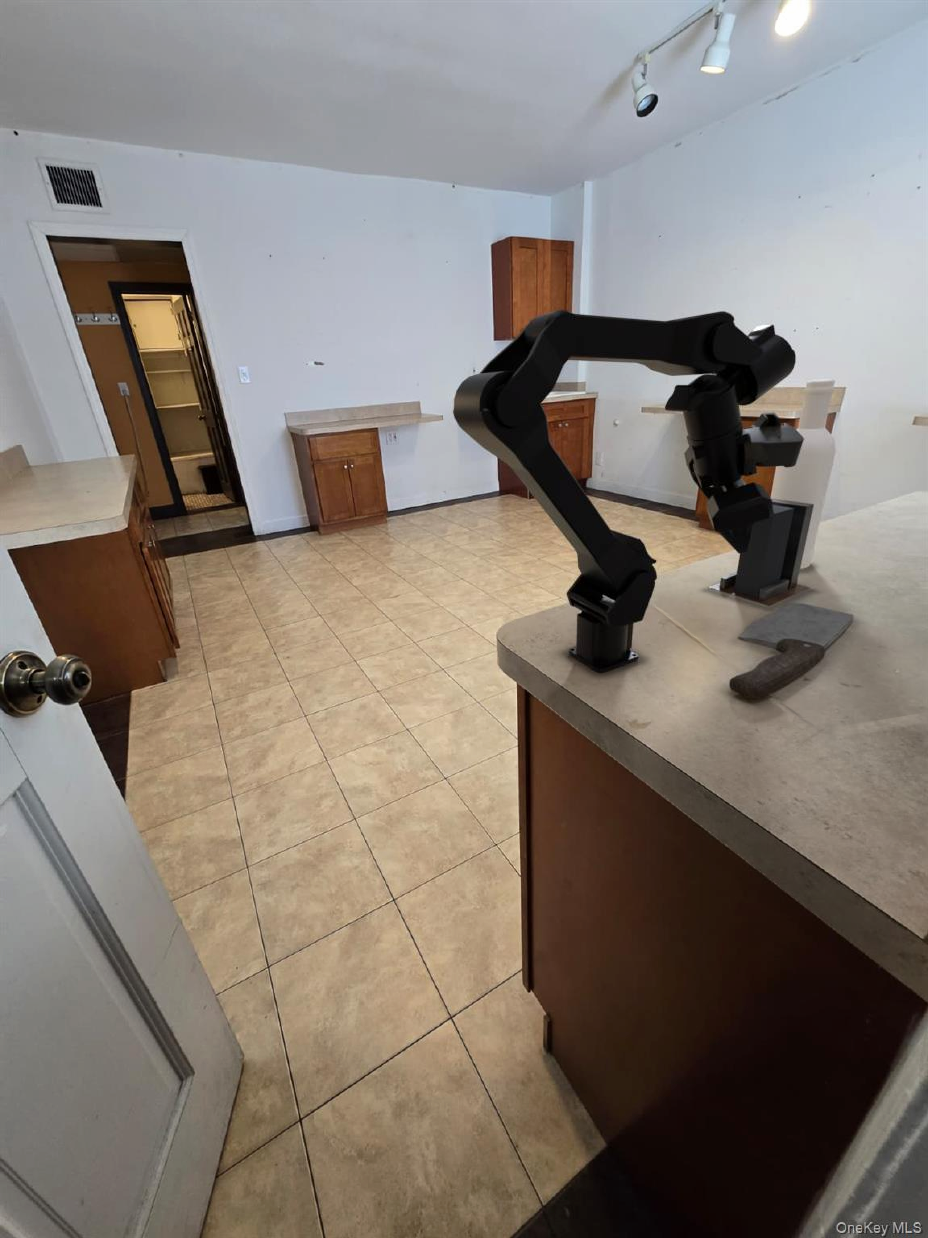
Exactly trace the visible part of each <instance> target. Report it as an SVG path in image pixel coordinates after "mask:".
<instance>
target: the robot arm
mask: <svg viewBox="0 0 928 1238" xmlns="http://www.w3.org/2000/svg"><path fill="white" fill-rule="evenodd" d="M796 357H797V356H796V351H795V349H793V348H792V346H791V344H790V343H789V341H788V340H786V339H785V338H784V337H783V336H780V335H778V334H776V329H775V325H774V324H767V325H759V326H757V327H756V328H754V329H753V330H752V331H750V332H749V333H748V335H747V334H746V333H745V332H744V331H742V330H741V329H740V328H739V327H738V326H736V324H735V316H734V315H733V314H732V313H730V312H727V311H724V310H719V311H714V312H710V313H703V314H698V315H693V316H687V317H682V318H675V319H670V320H655V319H645V318H644V319H642V318H630V317H620V316H619V317H617V316H607V315H606V316H605V315H593V314H583V313H582V314H581V313H573V312H571V311H569V310H567V309H559V310H555V311H550V312H547V313H543V314H539V315H536V316H535V317H533V318H531V320H530V321H529V322H528V323H527V324H526V325H525V327H524V328H523V329H522V331H521V332H520V333H519V334H518V335H517V337H516V338H514V339H513V340H512V341H511V342H510V343H509V344H508V345H507V346H505V347H504V348H503V349H502V350H501V351H500V352H499V353H498V354H497V355H495V356H494V357H493V358H492V359H491V360H490V361H488V363H486V365H485V366H484V367H483V368H482V369H481V371H480V372H479V373H475V374H473V375H469V376H468V377H466V378H465V379H464V380H463V381H461V383H460V384H459V386H458V387H457V389H456V392H455V395H454V398H453V410H452V414H453V417H454V420H455V422H456V423H457V425H458V427H459V428H460V429H461V430H462V431H463V432H464V433H466V434H467V435H468V436H469V437H470V438H471V439H473V441H475V442H476V443H477V444H478V445H479V446H480V447H481V448H483V449H484V450H485V451H487V452H488V453H490V454H492V455H493V456H494V457H496V458H497V459H499V460H500V461H502V462H503V463H505V464H506V465H508V467H510V468H511V469H512V471H513V472H514V473H515V475H516V476H517V478H519V480H520V481H521V483H523V485H524V486H525V488H526V489H527V490H528V491H529V493H530V494H531V496H532V497H533V498H534V499H535V500H536V502H537V503H538V504H539V505H540V507H541V508H542V510H543V511H544V512H545V513H546V515H547V516H548V517H549V518H550V520H551V521H552V522H553V523H554V525H555V526H556V528H557V529H558V530H559V531H560V532H561V534H562V535H563V536H564V537H565V539H566V540H567V542H568V543H569V544H570V545H571V547H572V548H573V549H574V551H575V552H576V555H577V557H576V558H577V569H578V570H579V572H580V573H579V575H578V577H577V578H576V580H575V581H574V582H573V583H572V584H571V586H569V589H568V590H567V591H566V598H567V600H568V603H569V605H570V606H571V607H574V608H576V609H577V610H579V611H581V612H579V613H576V638H575V639H576V641H575V642H576V643H575V646H573V647H570V648H568V654H569V655H571V656H572V657H574V658H576V659H577V660H579V661H580V662H582V663H583V664H585V665H587V666H588V667H589V668H591V669H592V670H594V671H596V672H597V673H604V672H607V671H609V670H612V669H615V668H618V667H620V666H624V665H625V664H629V663H632V662H634V661H637V660H639V653H636V652H634V651H633V650H631V649H632V647H633V633H634V624H635V623H639V622H642V621H643V620H644V617H645V615H646V612H647V609H648V607H649V603H650V602H651V598H652V596H653V593H654V590H655V587H656V580H658V573H657V570H656V568H655V566H654V564H656V563H657V561H658V560H657V559H655V558H653V557H651V555H650V554H649V552H648V550H647V547H646V545H645V543H644V542H643V541H642V539H641V538H638V537H635V536H632V535H629V534H626V533H623V532H620V531H618V530H617V531H616V530H614V529H611V528H610V526H609V525H608V524H607V522H606V521H605V519H604V518H603V517H602V515H601V513H600V512H599V511H598V509H597V507H595V505H594V504H593V502H592V500H591V499H590V498H589V496H588V495H587V493H586V492H585V491H584V488H583V487H581V485H580V484H579V482H578V480H577V479H576V477H575V476H574V475H573V473H572V471H570V469H569V468H568V466H567V465H566V463H565V461H563V459H562V457H561V456H560V455H559V454H558V451H557V450H556V449H555V447H554V446H553V445H552V443H551V440H550V433H549V426H548V417H547V414H546V411H545V409H544V407H543V405H542V403H544V401H545V400H546V398H547V397H548V396H549V395H550V393H551V392H552V391H553V390H554V388H555V386H556V384H557V382H558V379H559V377H560V375H561V373H562V371H563V368H564V366H565V364H566V363H567V362H568V361H581V362H603V363H604V362H607V363H631V364H639V365H642V366H645V367H646V368H648V369H649V370H650V371H653V372H656V373H660V374H663V375H665V376H671V377H678V376H696V375H699V376H698V377H696V378H695V379H693V380H692V381H691V382H689V383H688V384H676V385H675V386H674V389H673V392H672V394H671V396H670V397H669V398H668V399H667V401H666V403H665V405H664V410H665V411H667V412H678V413H679V412H680V413H681V412H682V414H683V419H684V423H685V424H684V425H685V429H686V433H687V435H686V442H687V445H688V447H687V449H686V450H685V452H684V454H683V455H684V459H685V464H686V467H687V469H688V471H689V474H690V476H691V478H692V480H693V481H694V483H695V484H696V486H697V487H698V488H699V490H700V491H701V492H702V493H703V495H704V496H705V497H706V499H707V502H706V503H705V507H706V511H707V514H708V518H709V521H710V524H711V526H712V528H713V531H714V532H716V533H718V534H719V535H720V536H721V537H722V538H723V539H724V540H725V541H726V542H727V543H728V544H729V545H730V546H731V547H732V548H733V549H734V551H735V552H737V554H740V553H744V552H747V551H748V548H749V544H750V539H751V535H752V530H753V527H754V524H755V522H758V521H761V520H765V519H768V518H770V517H771V516H772V515H773V514H774V511H773V504H772V499H771V495H770V494H769V493H768V492H767V490H766V488H765V486H763V485H761V484H759V483H757V482H754V481H751V482H750V483H747V484H746V482H745V480H744V479H743V476H744V477H746V478H747V477H749V476H753V475H756V474H758V471H757V467H758V468H766V467H768V468H769V467H770V468H771V467H776V466H784V467H793V466H795V465H796V462H797V459H798V456H799V453H800V450H801V447H802V444H803V441H804V438H803V437H802V436H801V434H800V433H799V432H798V431H797V430H796V429H797V428H795V427H794V426H792V425H789V423H787V422H784V423H783V424H781V419H780V417H779V416H778V415H777V414H776V413H775V412H773V411H772V412H762V413H761V414H760V415H759V417H758V418H757V419H756V420H755V422H753V424H752V425H751V424H750V428H744V424H743V422H742V417H741V410H740V409H741V408H740V406H742V407H743V406H749V405H751V404H753V403H755V402H756V401H757V400H759V399H760V398H761V397H762V396H764V395H765V394H767V393H768V392H769V391H770V390H772V389H773V388H774V387H776V386H777V385H778V384H780V383H781V382H782V381H783V380H785V379H786V378H788V377H789V376H790V375H791V374H792V372H793V371H794V369H795V366H796V360H797V358H796Z"/></svg>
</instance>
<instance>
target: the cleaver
mask: <svg viewBox="0 0 928 1238" xmlns="http://www.w3.org/2000/svg"><path fill="white" fill-rule="evenodd" d="M853 620H854V614H852V613H848V612H843V611H838V610H834V609H828V608H825V607H820V606H815V605H812V604H811V605H810V604H806V603H802V602H801V603H800V602H793V603H791V604H788V605H786V606H783V607H781V608H779V609H777V610H774V611H771V612H770V613H768V614H765V615H763V616H762V617H760V618H758V619H757V620H755V621H753V622H752V623H750V625H748V626H747V627H746V628H744V629H743V631H742V632H741V633H740V634H739V635H738V636H737V638H738V639H741V640H744V641H746V642H748V643H752V644H757V645H760V646H764V647H767V648H770V649H773V650H776V651H778V652H779V654H776V655H772V656H770V657H768V658H765V659H763V660H761V661H760V662H759V663H758V664H757V665H756V667H755V668H753V669H752V670H749V671H746V672H743V673H740V674H737V675H735V676H733V677H732V678H730V679H729V682H728V683H729V685H728V686H729V689H730V691H732V692H734V693H736V694H739V695H741V696H744V697H746V698H748V699H749V698H750V699H759V698H762V697H764V696H767V695H769V694H771V693H773V692H775V691H777V690H779V689H781V688H782V687H784V686H786V685H787V684H789V683H791V682H793V681H795V680H796V679H797V678H799V677H800V676H802V675H803V674H805V673H806V672H808V671H810V669H812V668H813V667H814V666H816V665H817V664H818V663H820V662H821V660H823V658H824V657H825V654H826V649H828V648H829V647H830V646H832V644H833V643H834V642H835V641H836V640H837V639H838V638H840V636H841V635H843V633H845V631H846V630H847V629H848V628H849V626H850V625H851V623H852V622H853Z"/></svg>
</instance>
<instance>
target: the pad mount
mask: <svg viewBox="0 0 928 1238" xmlns="http://www.w3.org/2000/svg"><path fill="white" fill-rule="evenodd" d="M770 498H771V497H770ZM771 499H772V498H771ZM772 504H773V505H777V506H783V507H790V508H794V512H793V517H792V522H791V527H790V532H789V537H788V542H787V547H786V552H785V557H784V562H783V567H782V572H781V577H780V581H778V582H776V583H773V584H771V585H768V586H766V587H764V588H761V589H760V594H759V598H758V599H757V598H754V597H750V596H747V595H744V594H741V593H738V592H735V591H734V587H735V581H736V575H737V571H735V572H733V573H729V574H728V575H725V576H722V577H720V581H719V582H718V583H716V584H713V585H710V586H708V589H711V590H715V591H718V592H721V593H725V594H728V595H732V596H734V597H738V598H740V599H745V600H748V601H751V602H754V603H758V604H761V605H764V606H767V607H771V606H773V605H776V604H777V603H780V602H782V601H784V600H786V599H789V598H790V597H793V596H795V595H797V594H799V593H801V592H803V591H806V590H808V589H810V588H811V587H810V586H806V585H802V584H798V581H799V576H800V571H801V569H800V567H801V562H802V558H803V553H804V548H805V544H806V539H807V534H808V530H809V525H810V520H811V516H812V511H813V507H814V504H809V503H801V502H794V501H787V500H779V499H772Z"/></svg>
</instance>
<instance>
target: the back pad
mask: <svg viewBox="0 0 928 1238" xmlns="http://www.w3.org/2000/svg"><path fill="white" fill-rule="evenodd" d="M773 511H774V514H773V515H772V516H771V517H770V518H768V519H765V520H761V521H758V522H755V524H754V527H753V530H752V535H751V539H750V544H749V548H748V551H747V552H744V553H739V557H738V563H737V570H736V572H737V575H736V581H735V587H734V591H735V592H738V593H741V594H744V595H747V596H750V597H754V598H757V599H758V598H759V594H760V589H761V588H764V587H766V586H768V585H771V584H773V583H776V582H778V581H780V577H781V572H782V567H783V562H784V557H785V552H786V547H787V542H788V537H789V532H790V527H791V522H792V517H793V512H794V508H790V507H783V506H777V505H773Z"/></svg>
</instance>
